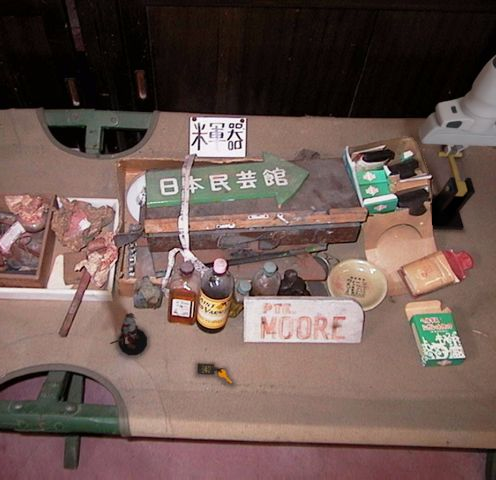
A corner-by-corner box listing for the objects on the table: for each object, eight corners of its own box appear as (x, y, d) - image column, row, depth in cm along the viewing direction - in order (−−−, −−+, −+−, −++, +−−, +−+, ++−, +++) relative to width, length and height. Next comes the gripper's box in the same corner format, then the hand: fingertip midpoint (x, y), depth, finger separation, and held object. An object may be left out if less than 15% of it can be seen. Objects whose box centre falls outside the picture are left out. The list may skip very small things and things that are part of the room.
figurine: (142, 359, 119) (138, 335, 106) (112, 351, 120) (104, 326, 107) (150, 332, 123) (147, 305, 110) (121, 324, 124) (114, 297, 111)
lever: (435, 155, 137) (439, 149, 135) (458, 155, 137) (462, 149, 135) (446, 195, 131) (450, 190, 129) (470, 196, 131) (475, 190, 128)
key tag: (195, 373, 118) (196, 372, 117) (199, 360, 119) (199, 359, 118) (231, 383, 116) (231, 383, 116) (234, 371, 118) (235, 370, 117)
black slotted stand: (419, 197, 142) (439, 167, 131) (453, 198, 142) (476, 168, 131) (427, 228, 137) (448, 200, 126) (461, 230, 137) (486, 201, 126)
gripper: (517, 105, 125) (487, 144, 137) (430, 102, 125) (408, 142, 137) (525, 125, 122) (494, 163, 133) (436, 122, 122) (413, 160, 134)
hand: (450, 152), depth 135 cm, fingers closed
